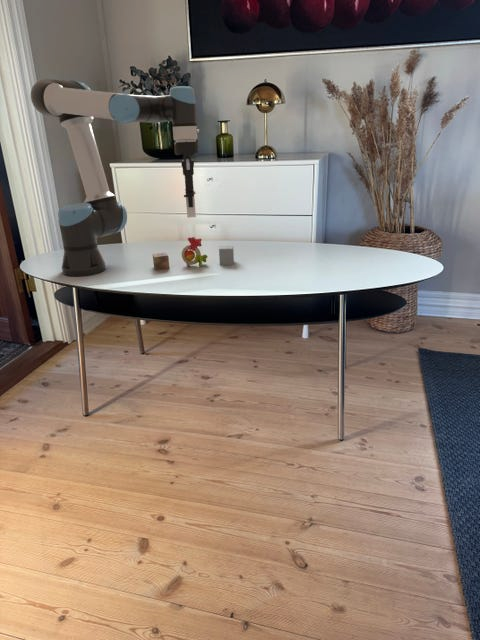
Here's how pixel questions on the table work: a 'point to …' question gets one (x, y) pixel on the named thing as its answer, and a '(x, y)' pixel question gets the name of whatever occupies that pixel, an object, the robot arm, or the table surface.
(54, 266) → the table surface
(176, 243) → the table surface
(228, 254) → the grey block
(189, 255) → the bird rattle
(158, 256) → the walnut block
